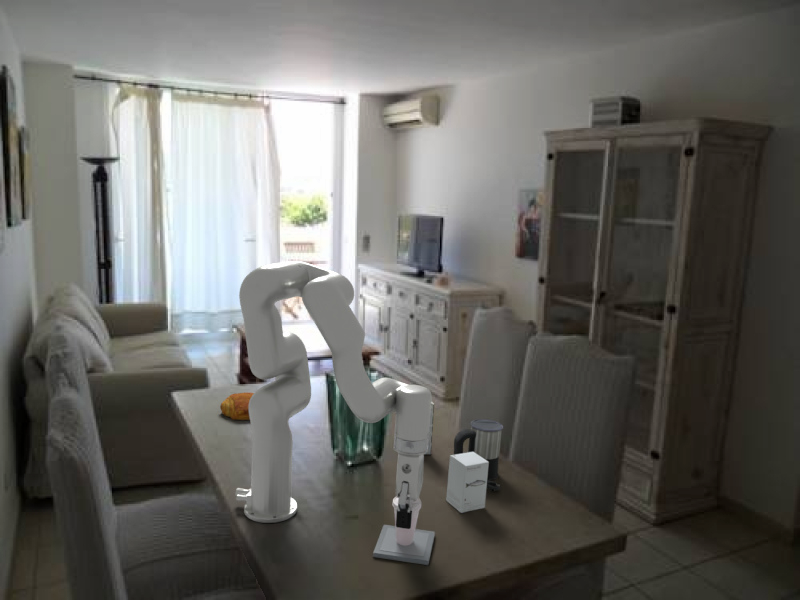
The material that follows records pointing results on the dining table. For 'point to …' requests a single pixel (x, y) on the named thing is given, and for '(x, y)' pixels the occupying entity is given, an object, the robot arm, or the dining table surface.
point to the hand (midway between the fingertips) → (406, 518)
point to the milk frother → (483, 445)
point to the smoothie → (407, 535)
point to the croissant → (237, 406)
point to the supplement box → (467, 481)
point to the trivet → (408, 553)
